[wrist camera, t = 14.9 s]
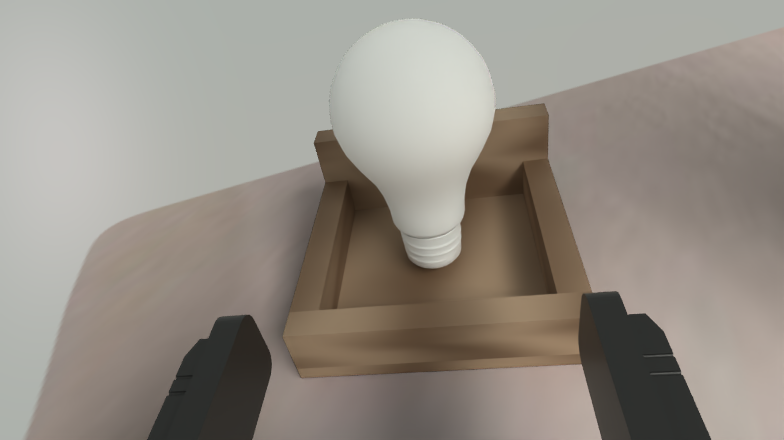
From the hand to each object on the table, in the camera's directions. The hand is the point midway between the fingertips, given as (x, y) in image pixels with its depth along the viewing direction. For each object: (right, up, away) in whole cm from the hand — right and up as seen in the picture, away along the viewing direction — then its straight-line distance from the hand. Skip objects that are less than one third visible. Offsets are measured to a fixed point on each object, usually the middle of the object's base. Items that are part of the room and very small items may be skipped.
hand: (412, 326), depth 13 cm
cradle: (+2, 0, +12) cm, 12 cm away
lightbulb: (+2, +1, +12) cm, 12 cm away
